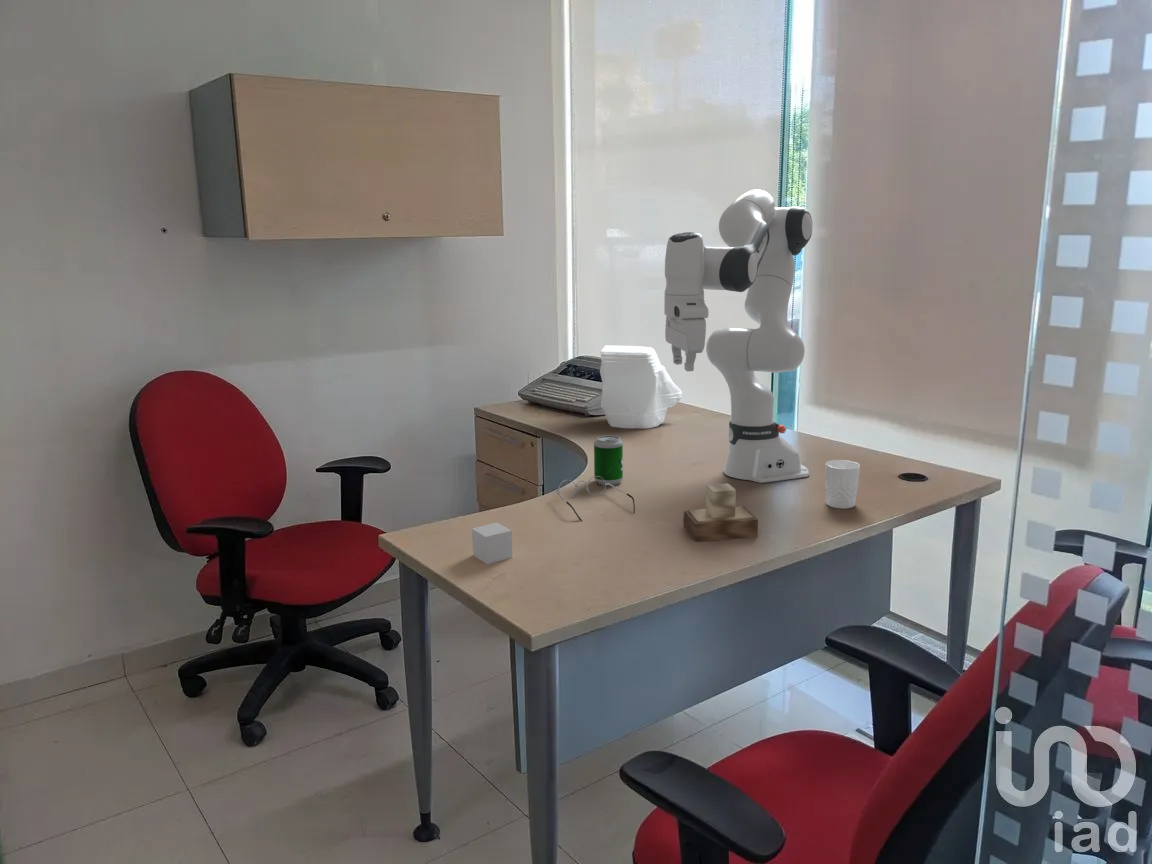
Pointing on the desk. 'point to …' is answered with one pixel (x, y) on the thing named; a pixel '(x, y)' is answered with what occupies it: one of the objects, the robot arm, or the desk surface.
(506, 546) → the grey cube
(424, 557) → the desk surface
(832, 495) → the white cup
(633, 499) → the eyeglasses
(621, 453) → the soda can
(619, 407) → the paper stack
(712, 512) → the block
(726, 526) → the plinth
